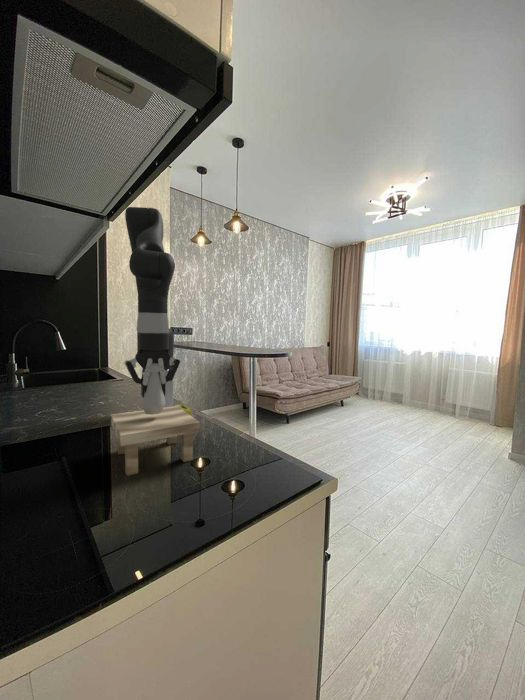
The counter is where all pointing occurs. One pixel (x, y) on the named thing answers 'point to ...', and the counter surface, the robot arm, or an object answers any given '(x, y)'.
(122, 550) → the counter surface
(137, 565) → the counter surface
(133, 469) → the footstool
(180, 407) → the apple
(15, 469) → the counter surface
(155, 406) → the salt shaker
